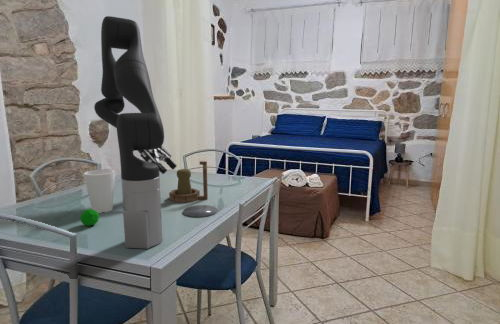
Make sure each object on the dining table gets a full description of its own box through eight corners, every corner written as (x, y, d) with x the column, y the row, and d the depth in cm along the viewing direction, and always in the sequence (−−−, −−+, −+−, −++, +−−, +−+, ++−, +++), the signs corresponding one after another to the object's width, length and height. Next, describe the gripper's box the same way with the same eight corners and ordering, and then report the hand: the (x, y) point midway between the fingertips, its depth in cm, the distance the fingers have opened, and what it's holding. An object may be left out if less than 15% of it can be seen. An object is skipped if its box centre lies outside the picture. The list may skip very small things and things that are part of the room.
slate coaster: (213, 217, 112) (213, 216, 112) (178, 216, 114) (178, 214, 114) (220, 207, 123) (220, 205, 123) (189, 206, 125) (188, 204, 124)
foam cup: (88, 207, 123) (85, 170, 121) (117, 204, 127) (114, 168, 124) (86, 216, 115) (83, 176, 112) (117, 212, 118) (114, 173, 116)
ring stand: (203, 203, 128) (202, 164, 126) (166, 201, 130) (164, 163, 127) (210, 195, 138) (209, 159, 136) (175, 194, 140) (174, 158, 138)
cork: (189, 201, 131) (188, 171, 129) (173, 200, 132) (172, 170, 130) (195, 196, 137) (194, 168, 135) (180, 195, 138) (179, 167, 136)
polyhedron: (78, 225, 107) (77, 209, 106) (95, 221, 110) (94, 206, 109) (85, 229, 103) (83, 213, 102) (102, 225, 106) (101, 209, 106)
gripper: (136, 133, 126) (168, 166, 126) (155, 129, 140) (184, 159, 139) (123, 148, 128) (155, 181, 128) (143, 143, 142) (171, 172, 141)
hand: (170, 170), depth 134 cm, fingers open, 8 cm apart
